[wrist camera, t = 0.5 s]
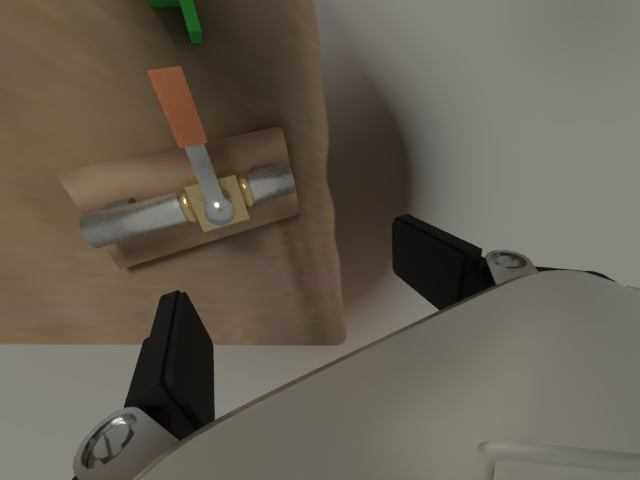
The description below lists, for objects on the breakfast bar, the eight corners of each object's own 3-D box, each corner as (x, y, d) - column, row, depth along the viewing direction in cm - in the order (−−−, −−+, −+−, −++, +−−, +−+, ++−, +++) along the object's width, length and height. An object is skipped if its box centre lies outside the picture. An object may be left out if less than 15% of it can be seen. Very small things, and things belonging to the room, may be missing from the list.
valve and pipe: (86, 202, 27) (63, 217, 23) (280, 155, 33) (291, 160, 28) (113, 243, 30) (97, 263, 25) (289, 193, 35) (300, 203, 31)
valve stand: (62, 170, 26) (54, 173, 25) (279, 125, 33) (281, 125, 31) (123, 263, 32) (120, 269, 31) (298, 210, 38) (301, 213, 37)
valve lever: (236, 213, 28) (238, 221, 26) (210, 220, 27) (210, 229, 25) (186, 71, 22) (183, 65, 19) (151, 76, 21) (143, 70, 19)
